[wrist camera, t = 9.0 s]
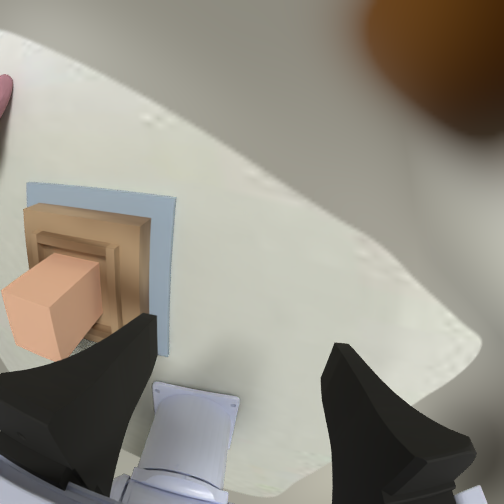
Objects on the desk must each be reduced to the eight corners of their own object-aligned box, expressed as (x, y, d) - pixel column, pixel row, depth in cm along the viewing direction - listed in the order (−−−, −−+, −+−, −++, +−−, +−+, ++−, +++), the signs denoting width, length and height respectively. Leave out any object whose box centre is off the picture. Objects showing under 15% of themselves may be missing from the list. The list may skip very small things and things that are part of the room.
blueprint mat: (169, 354, 24) (167, 357, 23) (45, 319, 24) (42, 321, 23) (176, 197, 19) (174, 198, 19) (29, 181, 19) (26, 182, 18)
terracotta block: (103, 313, 20) (62, 364, 14) (60, 300, 20) (16, 344, 14) (99, 262, 18) (49, 307, 13) (54, 252, 18) (1, 290, 13)
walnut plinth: (150, 339, 23) (138, 361, 20) (51, 311, 23) (35, 328, 20) (151, 218, 19) (135, 230, 17) (39, 202, 19) (16, 211, 16)
